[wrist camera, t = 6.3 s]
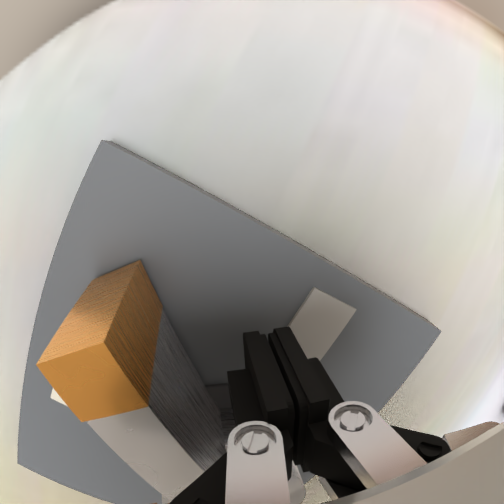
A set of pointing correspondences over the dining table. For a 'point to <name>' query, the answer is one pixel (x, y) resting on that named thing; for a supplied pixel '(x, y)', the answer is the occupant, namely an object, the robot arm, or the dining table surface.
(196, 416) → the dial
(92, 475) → the panel
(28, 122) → the dining table surface
